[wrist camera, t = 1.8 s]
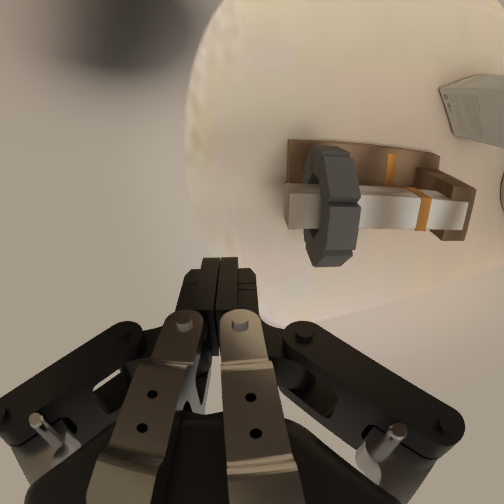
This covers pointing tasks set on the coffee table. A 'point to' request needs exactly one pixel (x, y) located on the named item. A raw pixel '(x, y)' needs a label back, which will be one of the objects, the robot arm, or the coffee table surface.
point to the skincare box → (476, 108)
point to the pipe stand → (385, 191)
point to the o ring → (333, 205)
